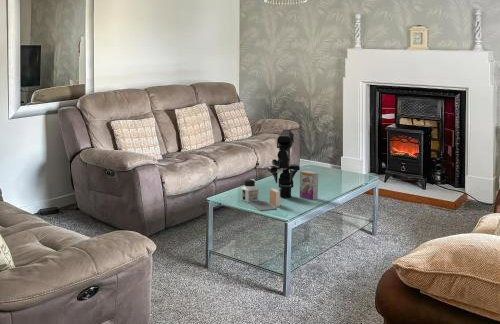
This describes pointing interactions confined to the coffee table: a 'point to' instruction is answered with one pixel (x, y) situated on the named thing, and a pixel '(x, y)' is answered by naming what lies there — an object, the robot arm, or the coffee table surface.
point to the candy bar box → (309, 185)
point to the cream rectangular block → (274, 197)
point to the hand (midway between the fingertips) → (283, 182)
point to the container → (249, 191)
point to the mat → (262, 205)
